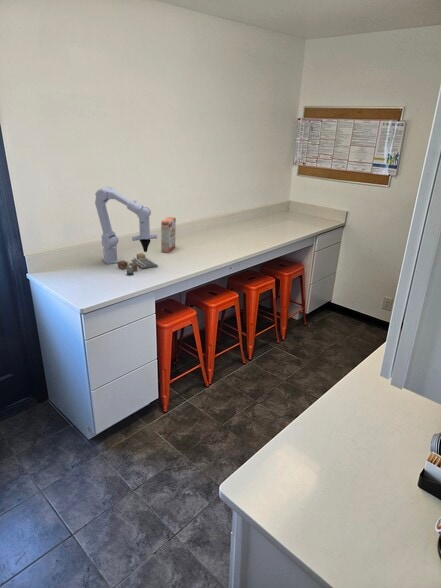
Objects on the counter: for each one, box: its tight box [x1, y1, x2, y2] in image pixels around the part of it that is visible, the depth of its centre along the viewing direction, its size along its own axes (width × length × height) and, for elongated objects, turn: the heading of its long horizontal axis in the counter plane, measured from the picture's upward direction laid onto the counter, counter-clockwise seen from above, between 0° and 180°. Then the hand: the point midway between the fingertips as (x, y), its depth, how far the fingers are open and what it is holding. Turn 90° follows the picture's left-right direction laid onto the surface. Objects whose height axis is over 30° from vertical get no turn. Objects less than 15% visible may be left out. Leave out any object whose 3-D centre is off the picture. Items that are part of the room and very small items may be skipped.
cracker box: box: [160, 216, 177, 254], centre depth 265 cm, size 14×6×21 cm, turn 168°
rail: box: [131, 256, 159, 270], centre depth 241 cm, size 16×10×2 cm, turn 34°
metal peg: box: [126, 264, 134, 276], centre depth 224 cm, size 4×4×5 cm
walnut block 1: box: [117, 259, 129, 271], centre depth 233 cm, size 4×4×4 cm
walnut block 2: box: [128, 262, 138, 273], centre depth 230 cm, size 4×4×4 cm
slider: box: [136, 252, 146, 261], centre depth 244 cm, size 4×4×4 cm
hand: (145, 251), depth 234 cm, fingers closed
